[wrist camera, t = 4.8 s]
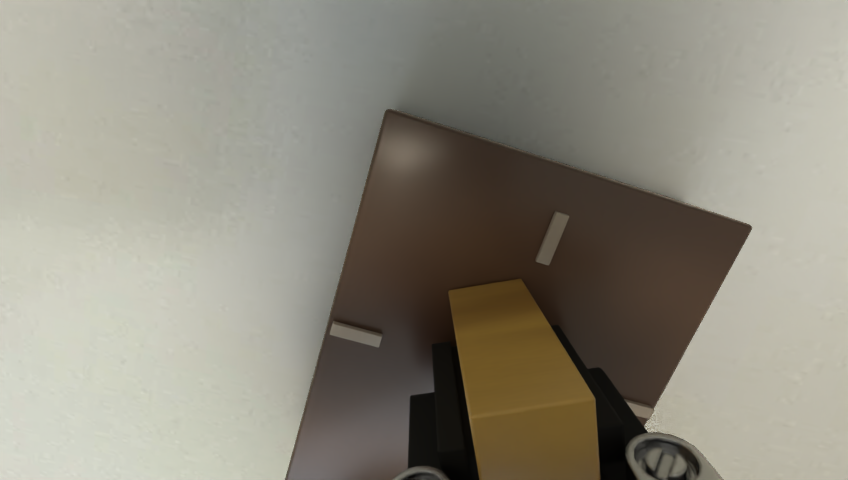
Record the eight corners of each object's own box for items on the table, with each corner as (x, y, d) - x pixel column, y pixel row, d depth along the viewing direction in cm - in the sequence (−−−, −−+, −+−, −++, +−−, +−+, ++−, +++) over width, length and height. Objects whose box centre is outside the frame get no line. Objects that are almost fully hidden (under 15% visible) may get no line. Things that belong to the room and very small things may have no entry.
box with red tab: (447, 289, 11) (470, 428, 6) (521, 277, 11) (602, 408, 6) (475, 453, 13) (511, 667, 8) (540, 443, 13) (618, 653, 8)
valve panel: (392, 108, 13) (384, 107, 10) (686, 202, 14) (760, 227, 11) (306, 422, 16) (280, 493, 13) (548, 481, 17) (576, 560, 14)
